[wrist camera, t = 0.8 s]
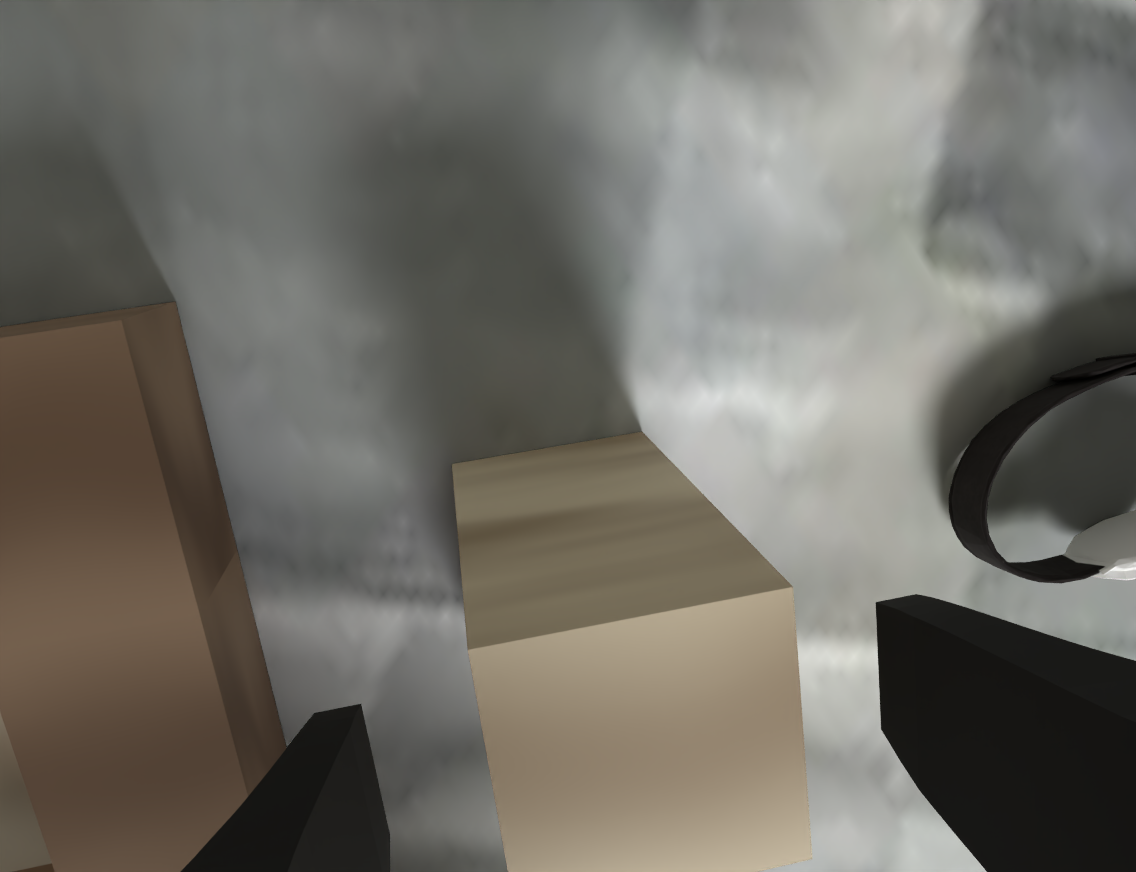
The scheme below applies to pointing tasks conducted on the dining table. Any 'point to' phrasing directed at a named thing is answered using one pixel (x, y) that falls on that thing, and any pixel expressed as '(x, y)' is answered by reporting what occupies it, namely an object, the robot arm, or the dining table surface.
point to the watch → (1099, 551)
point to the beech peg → (628, 667)
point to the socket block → (119, 605)
